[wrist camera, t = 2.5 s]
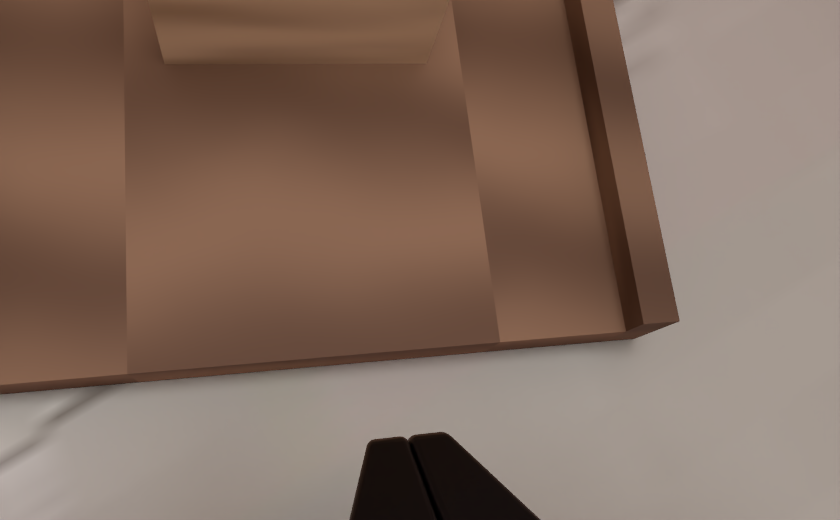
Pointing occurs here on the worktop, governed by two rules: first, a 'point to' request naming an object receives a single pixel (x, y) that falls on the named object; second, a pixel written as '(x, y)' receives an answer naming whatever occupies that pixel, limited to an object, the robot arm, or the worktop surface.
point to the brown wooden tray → (316, 198)
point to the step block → (296, 31)
